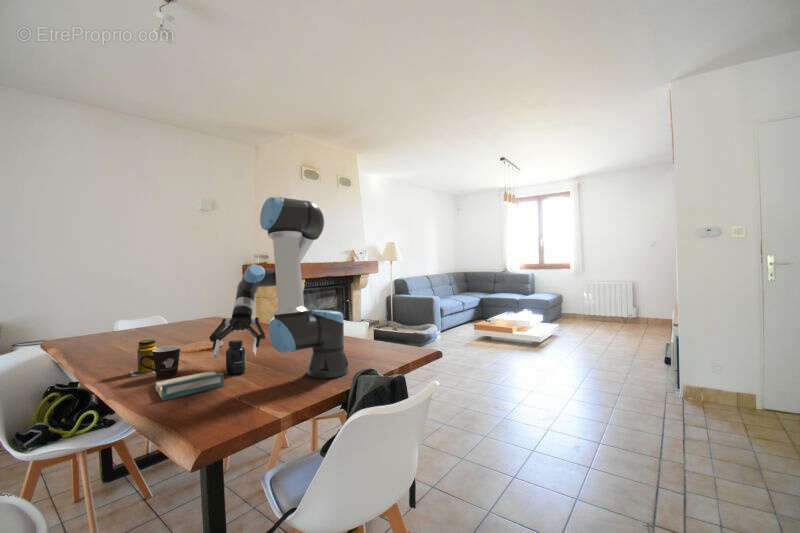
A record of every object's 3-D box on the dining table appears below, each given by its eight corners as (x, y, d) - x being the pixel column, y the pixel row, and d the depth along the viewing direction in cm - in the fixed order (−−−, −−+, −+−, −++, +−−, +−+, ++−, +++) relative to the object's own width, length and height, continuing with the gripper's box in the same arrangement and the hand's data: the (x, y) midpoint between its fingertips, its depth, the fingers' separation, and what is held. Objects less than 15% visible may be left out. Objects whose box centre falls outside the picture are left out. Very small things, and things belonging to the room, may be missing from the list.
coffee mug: (183, 371, 134) (183, 345, 134) (177, 378, 126) (176, 350, 126) (148, 374, 130) (147, 348, 130) (138, 381, 122) (138, 353, 122)
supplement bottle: (237, 375, 127) (237, 343, 127) (221, 374, 128) (221, 342, 128) (249, 370, 134) (249, 339, 134) (234, 369, 135) (233, 338, 135)
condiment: (159, 371, 134) (159, 340, 133) (132, 377, 128) (131, 344, 128) (156, 367, 139) (155, 338, 139) (129, 372, 133) (128, 341, 133)
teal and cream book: (223, 386, 116) (223, 373, 116) (163, 400, 104) (162, 386, 104) (212, 377, 126) (212, 365, 126) (155, 389, 114) (155, 376, 114)
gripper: (275, 314, 151) (270, 357, 137) (212, 317, 146) (201, 362, 132) (273, 303, 146) (268, 347, 132) (208, 306, 141) (195, 352, 126)
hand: (234, 355), depth 132 cm, fingers open, 13 cm apart
